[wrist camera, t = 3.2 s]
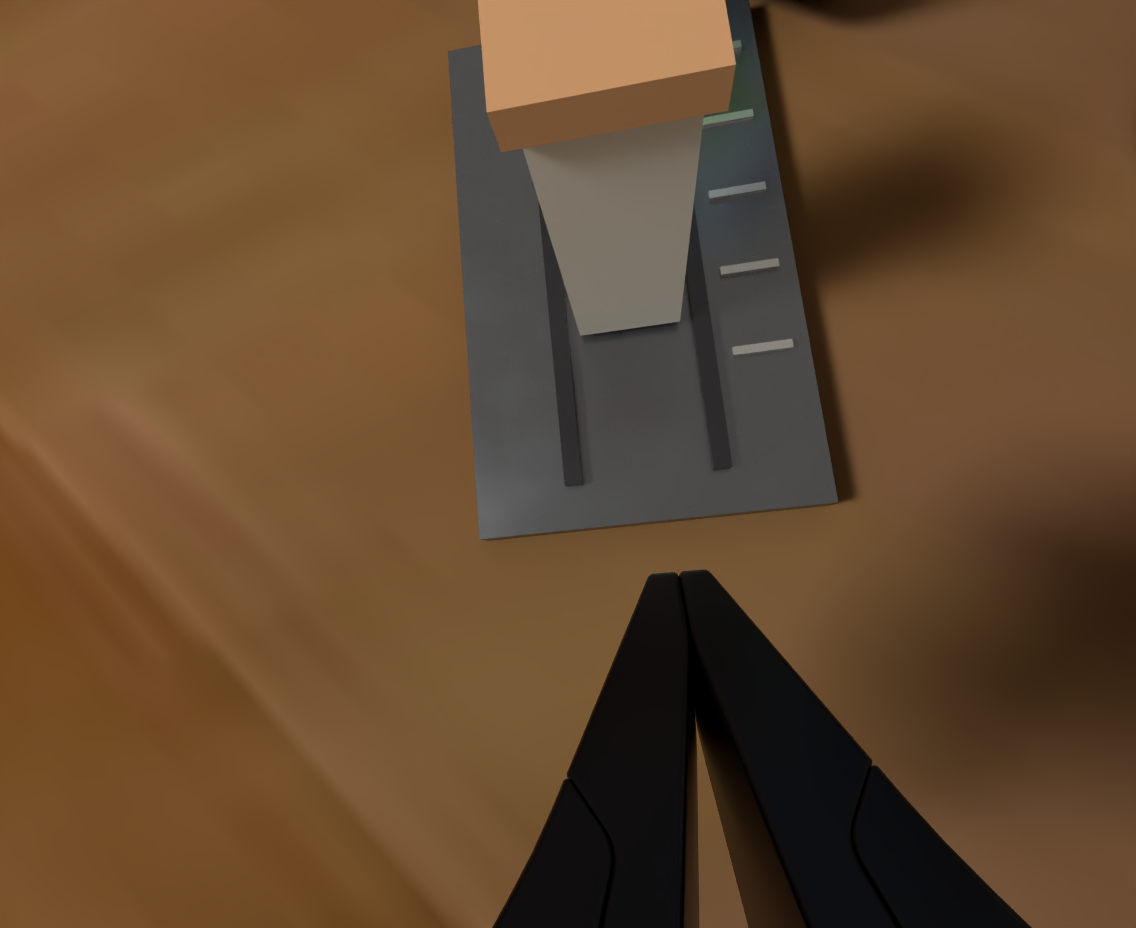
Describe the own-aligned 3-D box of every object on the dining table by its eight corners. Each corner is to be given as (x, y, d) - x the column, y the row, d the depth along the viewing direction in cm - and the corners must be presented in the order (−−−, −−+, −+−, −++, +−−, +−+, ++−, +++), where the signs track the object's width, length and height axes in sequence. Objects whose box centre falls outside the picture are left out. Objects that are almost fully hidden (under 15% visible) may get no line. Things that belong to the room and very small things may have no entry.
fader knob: (691, 329, 20) (736, 64, 10) (571, 346, 21) (486, 112, 10) (676, 219, 21) (701, -138, 10) (560, 238, 22) (471, -85, 11)
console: (829, 505, 20) (855, 496, 18) (487, 540, 22) (465, 537, 19) (742, 13, 24) (753, -53, 21) (455, 71, 25) (433, 15, 23)
